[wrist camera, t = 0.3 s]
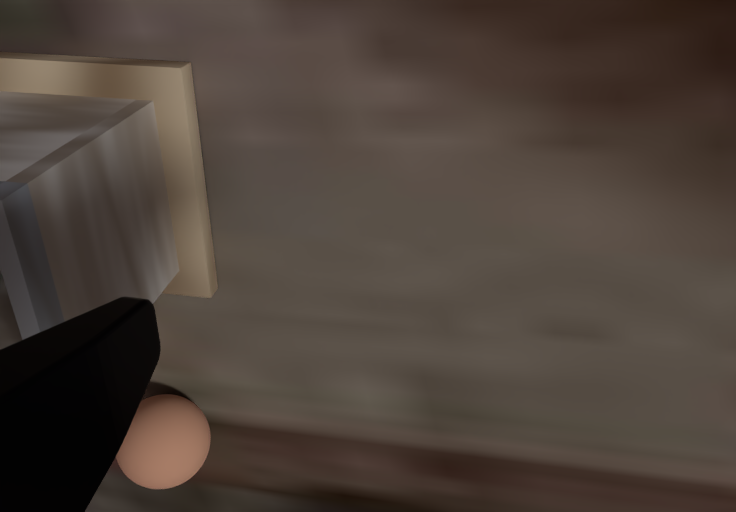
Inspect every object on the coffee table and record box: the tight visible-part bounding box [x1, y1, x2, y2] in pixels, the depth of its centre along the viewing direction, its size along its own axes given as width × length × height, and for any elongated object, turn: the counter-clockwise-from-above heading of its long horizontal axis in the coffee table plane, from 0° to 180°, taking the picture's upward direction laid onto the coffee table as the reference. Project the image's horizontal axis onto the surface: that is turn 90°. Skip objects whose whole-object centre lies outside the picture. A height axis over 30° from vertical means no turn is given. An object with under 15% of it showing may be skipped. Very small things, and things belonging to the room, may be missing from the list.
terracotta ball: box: [116, 394, 211, 489], centre depth 29 cm, size 4×4×4 cm
